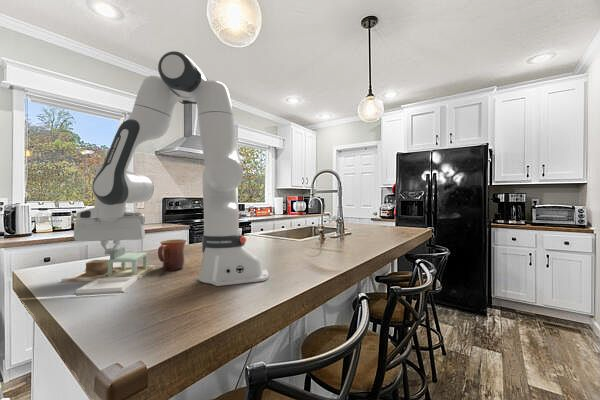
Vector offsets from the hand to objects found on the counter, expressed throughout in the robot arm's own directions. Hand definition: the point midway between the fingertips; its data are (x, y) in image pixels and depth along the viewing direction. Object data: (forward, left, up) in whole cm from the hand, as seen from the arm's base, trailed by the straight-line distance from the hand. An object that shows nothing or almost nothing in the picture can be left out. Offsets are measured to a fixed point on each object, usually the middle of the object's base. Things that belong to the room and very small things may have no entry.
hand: (110, 253), depth 93 cm
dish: (-5, +14, -7) cm, 17 cm away
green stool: (-5, 0, -7) cm, 9 cm away
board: (0, 0, -7) cm, 7 cm away
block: (+4, 0, -7) cm, 8 cm away
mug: (-17, -5, -8) cm, 20 cm away
